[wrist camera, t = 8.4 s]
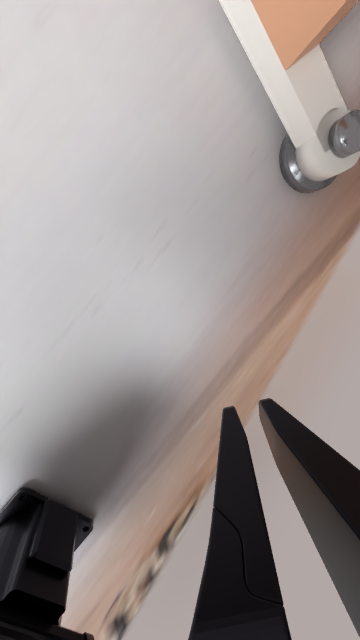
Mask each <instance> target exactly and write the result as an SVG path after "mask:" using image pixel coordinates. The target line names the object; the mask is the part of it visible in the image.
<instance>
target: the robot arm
mask: <svg viewBox="0 0 360 640" xmlns="http://www.w3.org/2000/svg"><path fill="white" fill-rule="evenodd" d="M259 416H260V420H261V423H262V426H263V429H264V432H265V435H266V438H267V440H268V443H269V446H270V449H271V451H272V454H273V457H274V460H275V462H276V465H277V467H278V469H279V471H280V474H281V475H282V478H283V480H284V482H285V484H286V486H287V488H288V490H289V492H290V494H291V496H292V498H293V501H294V503H295V505H296V507H297V509H298V511H299V513H300V515H301V517H302V519H303V521H304V523H305V525H306V527H307V529H308V531H309V534H310V535H311V538H312V540H313V542H314V544H315V546H316V548H317V550H318V552H319V554H320V556H321V558H322V560H323V563H324V564H325V567H326V569H327V571H328V573H329V575H330V577H331V579H332V581H333V583H334V585H335V587H336V589H337V591H338V594H339V595H340V598H341V600H342V602H343V604H344V606H345V608H346V610H347V612H348V614H349V616H350V618H351V620H352V622H353V625H354V627H355V629H356V631H357V633H358V635H359V636H360V470H359V469H357V468H356V467H355V466H354V465H353V464H351V463H350V462H349V461H348V460H346V459H345V458H344V457H343V456H341V455H340V454H339V453H338V452H336V451H335V450H334V449H333V448H332V447H330V446H329V445H328V444H327V443H325V442H324V441H323V440H322V439H320V438H319V437H318V436H317V435H315V434H314V433H313V432H312V431H310V430H309V429H308V428H307V427H305V426H304V425H303V424H302V423H301V422H299V421H298V420H297V419H296V418H294V417H293V416H292V415H291V414H289V413H288V412H287V411H286V410H284V409H283V408H282V407H281V406H280V405H278V404H277V403H276V402H275V401H273V400H272V399H270V398H268V399H263V400H260V401H259ZM21 495H25V496H26V497H21ZM213 506H214V508H213V513H212V523H211V530H210V538H209V545H208V550H207V555H206V561H205V566H204V571H203V575H202V580H201V585H200V589H199V594H198V599H197V603H196V608H195V613H194V617H193V622H192V626H191V631H190V635H189V639H188V640H292V639H291V636H290V631H289V627H288V622H287V618H286V614H285V609H284V607H283V600H282V596H281V591H280V586H279V582H278V577H277V572H276V568H275V563H274V559H273V554H272V550H271V545H270V540H269V536H268V531H267V527H266V523H265V518H264V513H263V509H262V504H261V499H260V495H259V490H258V486H257V481H256V476H255V472H254V468H253V463H252V458H251V454H250V449H249V444H248V440H247V437H246V434H245V431H244V429H243V426H242V424H241V421H240V419H239V416H238V414H237V411H236V409H235V407H234V406H231V407H226V408H224V409H223V413H222V423H221V433H220V443H219V453H218V463H217V473H216V484H215V495H214V505H213ZM85 526H88V527H85ZM92 529H93V521H92V520H91V519H89V518H87V517H85V516H83V515H81V514H79V513H77V512H75V511H73V510H71V509H69V508H67V507H65V506H63V505H61V504H59V503H57V502H55V501H53V500H51V499H49V498H47V497H45V496H43V495H41V494H39V493H37V492H35V491H33V490H31V489H29V488H22V489H20V490H18V491H17V493H16V494H15V495H14V496H13V497H12V498H11V499H10V501H9V502H8V503H7V504H6V505H5V506H4V508H3V509H2V510H1V511H0V640H94V637H93V635H92V634H89V633H86V632H85V633H84V634H81V633H78V632H76V631H73V630H70V629H67V628H64V627H61V618H62V614H63V613H64V612H65V610H66V601H67V593H68V585H69V576H70V571H71V569H72V563H73V555H74V552H75V550H76V549H77V548H78V547H79V546H80V544H81V543H82V542H83V541H84V540H85V538H86V537H87V536H88V535H89V534H90V532H91V531H92Z"/></svg>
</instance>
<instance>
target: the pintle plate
mask: <svg viewBox="0 0 360 640" xmlns="http://www.w3.org/2000/svg"><path fill="white" fill-rule="evenodd" d="M328 142H329V146H330V149H331V151H332V152H333V154H334V155H336V156H337V157H339V158H346V157H348V156H350V155H352V154H354V153H356V152H358V151H360V110H352V111H350V112H349V113H347V114H346V115H344V116H343V117H341V118H340V119H338V120H337V121H335V122H334V123H333V125H332V126H331V128H330V131H329V135H328ZM279 159H280V168H281V172H282V174H283V177H284V179H285V180H286V182H287V183H288V184H289V185H290V186H291V187H292V188H293V189H294V190H296V191H298V192H301V193H311V192H314V191H317V190H319V189H321V188H324V187H326V186H328V185H329V184H330V183H331V182H332V181H333V180H334V179H335V178H336V176H337V175H335V176H333V177H330V178H328V179H326V180H323V181H312V180H310V179H308V178H307V177H305V176H304V175H303V173H302V172H301V171H300V169H299V167H298V164H297V161H296V148H295V146H294V144H293V142H292V141H291V139H290V137H289V135H288V134H287V135H286V137H285V139H284V140H283V143H282V145H281V149H280V157H279Z"/></svg>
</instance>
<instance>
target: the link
mask: <svg viewBox="0 0 360 640" xmlns="http://www.w3.org/2000/svg"><path fill="white" fill-rule="evenodd" d="M358 1H359V0H219V2H220V4H221V6H222V8H223V10H224V12H225V14H226V16H227V17H228V19H229V21H230V23H231V25H232V27H233V29H234V31H235V33H236V35H237V37H238V39H239V41H240V42H241V44H242V46H243V48H244V50H245V52H246V54H247V56H248V58H249V60H250V62H251V64H252V66H253V67H254V69H255V71H256V73H257V75H258V77H259V79H260V81H261V83H262V85H263V87H264V89H265V91H266V92H267V94H268V96H269V98H270V100H271V102H272V104H273V106H274V108H275V110H276V112H277V114H278V116H279V117H280V119H281V121H282V123H283V125H284V127H285V129H286V131H287V133H288V135H289V137H290V139H291V141H292V142H293V144H294V146H295V148H296V161H297V164H298V167H299V169H300V171H301V172H302V173H303V175H304V176H305V177H307V178H308V179H310V180H312V181H323V180H326V179H328V178H330V177H333V176H335V175H337V174H340V173H342V172H344V171H346V170H348V169H350V168H351V167H353V166H354V165H355V164H356V162H357V161H358V159H359V157H360V151H358V152H356V153H354V154H352V155H350V156H348V157H346V158H339V157H337V156H336V155H334V154H333V152H332V151H331V149H330V146H329V142H328V135H329V131H330V128H331V126H332V125H333V123H334V122H335V121H337V120H338V119H340V118H341V117H343V116H344V115H346V114H347V113H349V112H350V110H349V109H347V107H346V105H345V103H344V100H343V98H342V96H341V93H340V91H339V89H338V87H337V84H336V82H335V80H334V77H333V75H332V73H331V71H330V68H329V66H328V64H327V61H326V59H325V57H324V55H323V52H322V50H321V48H320V45H319V43H320V42H321V41H322V40H323V39H324V38H325V37H326V36H327V35H328V34H329V33H330V32H331V30H332V29H333V28H334V27H335V26H336V25H337V24H338V23H339V22H340V21H341V20H342V18H343V17H344V16H345V15H346V14H347V13H348V12H349V11H350V10H351V9H352V8H353V6H354V5H355V4H356V3H357V2H358Z"/></svg>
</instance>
